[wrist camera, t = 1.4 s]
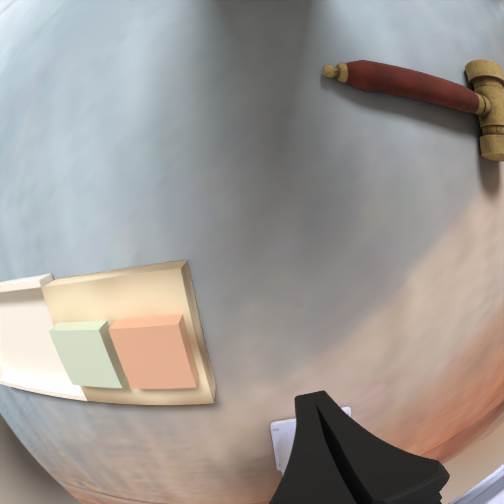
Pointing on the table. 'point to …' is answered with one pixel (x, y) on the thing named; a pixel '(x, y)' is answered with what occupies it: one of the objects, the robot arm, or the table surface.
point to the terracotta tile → (155, 352)
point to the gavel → (439, 93)
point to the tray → (30, 341)
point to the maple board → (136, 306)
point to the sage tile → (88, 354)
